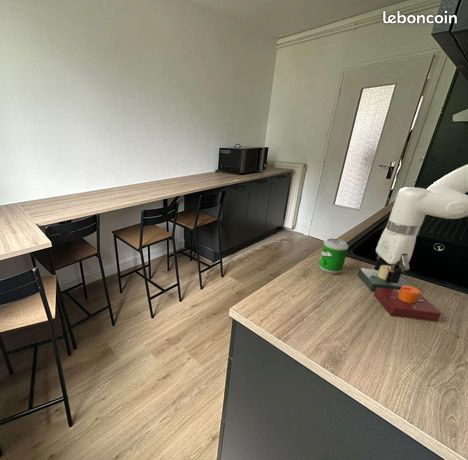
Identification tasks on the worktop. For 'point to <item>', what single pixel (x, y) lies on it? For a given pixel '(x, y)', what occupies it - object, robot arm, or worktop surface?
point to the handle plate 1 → (378, 280)
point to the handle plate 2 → (406, 306)
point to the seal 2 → (408, 294)
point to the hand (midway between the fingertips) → (385, 275)
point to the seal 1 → (384, 271)
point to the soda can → (333, 255)
